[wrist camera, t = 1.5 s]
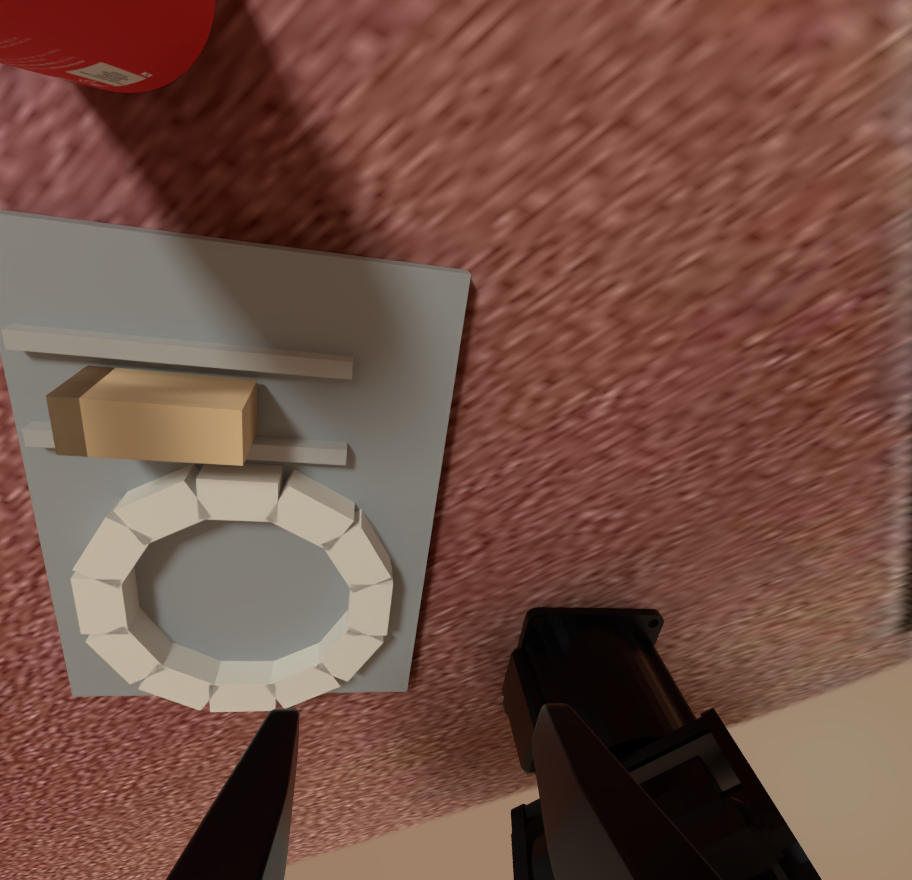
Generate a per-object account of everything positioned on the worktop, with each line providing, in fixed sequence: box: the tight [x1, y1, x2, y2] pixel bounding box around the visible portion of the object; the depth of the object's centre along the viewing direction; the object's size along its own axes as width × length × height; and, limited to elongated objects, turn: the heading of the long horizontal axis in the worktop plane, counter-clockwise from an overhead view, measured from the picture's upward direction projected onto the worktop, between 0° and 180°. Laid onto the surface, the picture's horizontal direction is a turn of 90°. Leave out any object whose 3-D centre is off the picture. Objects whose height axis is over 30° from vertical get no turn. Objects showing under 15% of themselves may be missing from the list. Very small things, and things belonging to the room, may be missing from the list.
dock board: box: [0, 210, 471, 712], centre depth 20 cm, size 14×19×2 cm
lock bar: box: [46, 365, 258, 466], centre depth 17 cm, size 5×2×2 cm, turn 82°
